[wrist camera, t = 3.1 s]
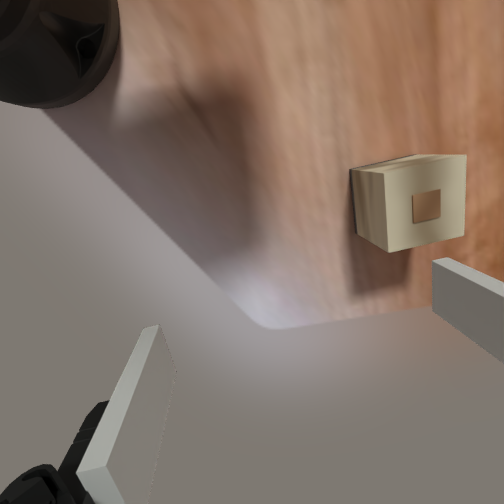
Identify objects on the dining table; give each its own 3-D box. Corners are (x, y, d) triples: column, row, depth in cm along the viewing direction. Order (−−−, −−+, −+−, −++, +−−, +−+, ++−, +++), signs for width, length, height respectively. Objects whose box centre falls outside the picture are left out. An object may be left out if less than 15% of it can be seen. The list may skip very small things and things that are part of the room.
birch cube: (355, 233, 33) (389, 253, 26) (349, 169, 31) (384, 173, 24) (415, 219, 33) (465, 235, 26) (414, 154, 31) (467, 154, 24)
